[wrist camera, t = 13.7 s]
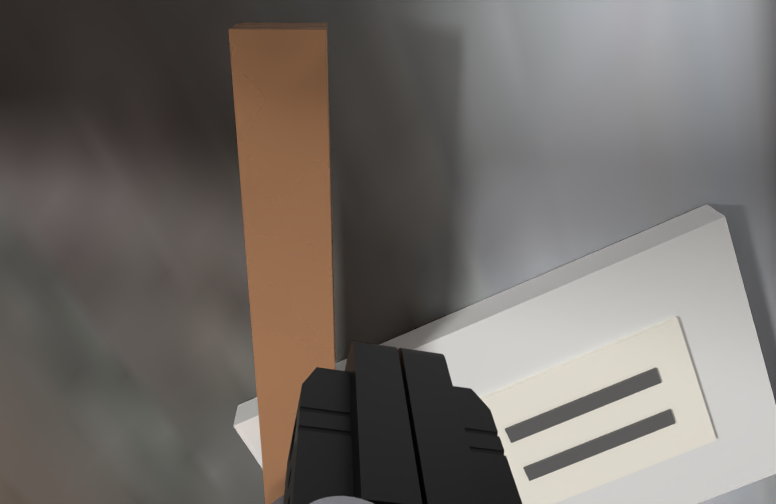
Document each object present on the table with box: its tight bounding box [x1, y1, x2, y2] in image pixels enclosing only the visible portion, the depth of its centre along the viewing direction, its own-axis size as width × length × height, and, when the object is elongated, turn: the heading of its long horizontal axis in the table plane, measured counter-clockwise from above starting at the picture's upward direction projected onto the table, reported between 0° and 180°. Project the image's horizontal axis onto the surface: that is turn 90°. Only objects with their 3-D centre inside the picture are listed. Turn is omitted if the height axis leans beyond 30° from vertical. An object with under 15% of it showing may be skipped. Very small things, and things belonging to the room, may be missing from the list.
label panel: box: [233, 204, 776, 504], centre depth 32 cm, size 22×14×2 cm, turn 114°
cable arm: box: [228, 22, 336, 504], centre depth 25 cm, size 20×3×4 cm, turn 0°
